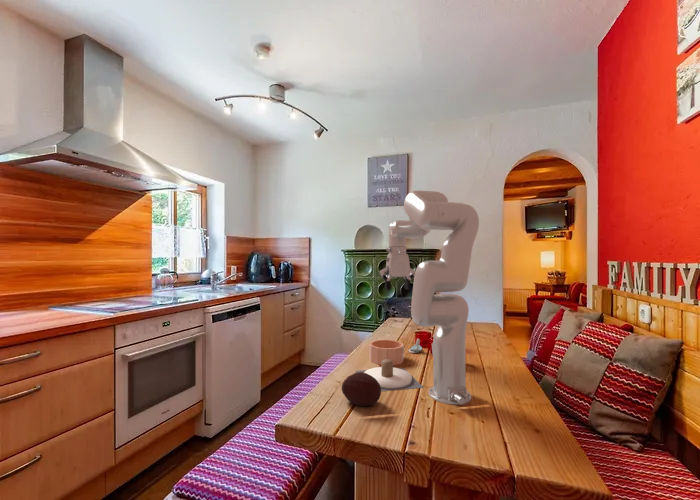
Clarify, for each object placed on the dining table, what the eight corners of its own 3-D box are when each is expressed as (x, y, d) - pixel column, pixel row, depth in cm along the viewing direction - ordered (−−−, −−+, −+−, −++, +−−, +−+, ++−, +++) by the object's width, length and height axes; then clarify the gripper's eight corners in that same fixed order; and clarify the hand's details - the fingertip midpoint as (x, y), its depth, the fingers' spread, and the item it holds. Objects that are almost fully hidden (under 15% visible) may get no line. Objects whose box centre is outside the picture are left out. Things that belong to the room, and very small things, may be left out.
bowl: (408, 365, 124) (408, 347, 124) (374, 367, 121) (374, 349, 122) (396, 354, 138) (396, 338, 138) (366, 356, 135) (366, 340, 135)
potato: (377, 415, 84) (376, 381, 85) (336, 408, 89) (336, 375, 89) (384, 401, 93) (384, 370, 93) (347, 395, 97) (347, 365, 97)
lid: (419, 386, 102) (419, 367, 102) (369, 390, 99) (369, 371, 99) (401, 368, 119) (401, 352, 119) (358, 371, 116) (358, 355, 116)
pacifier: (408, 354, 140) (421, 354, 138) (407, 340, 140) (421, 340, 138) (408, 349, 147) (421, 349, 145) (408, 336, 147) (421, 336, 146)
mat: (424, 389, 101) (423, 387, 101) (367, 394, 98) (367, 392, 98) (403, 369, 120) (403, 367, 120) (355, 372, 116) (355, 370, 116)
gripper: (384, 250, 130) (384, 291, 129) (418, 250, 137) (419, 289, 136) (376, 251, 137) (376, 289, 136) (409, 251, 144) (409, 288, 143)
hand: (397, 289), depth 136 cm, fingers open, 9 cm apart
